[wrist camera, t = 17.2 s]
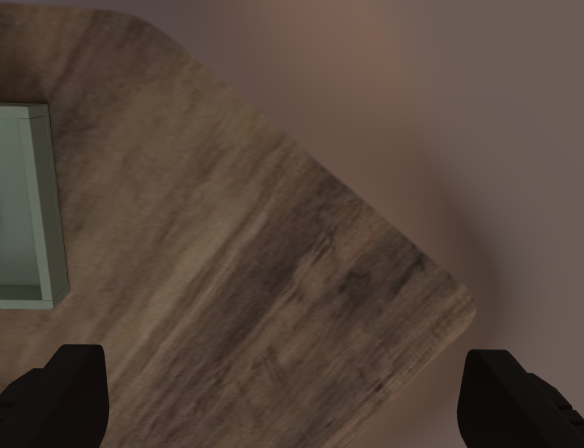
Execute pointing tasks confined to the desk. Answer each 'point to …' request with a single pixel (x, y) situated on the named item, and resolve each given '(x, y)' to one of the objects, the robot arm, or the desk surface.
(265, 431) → the desk surface
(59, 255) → the tray
